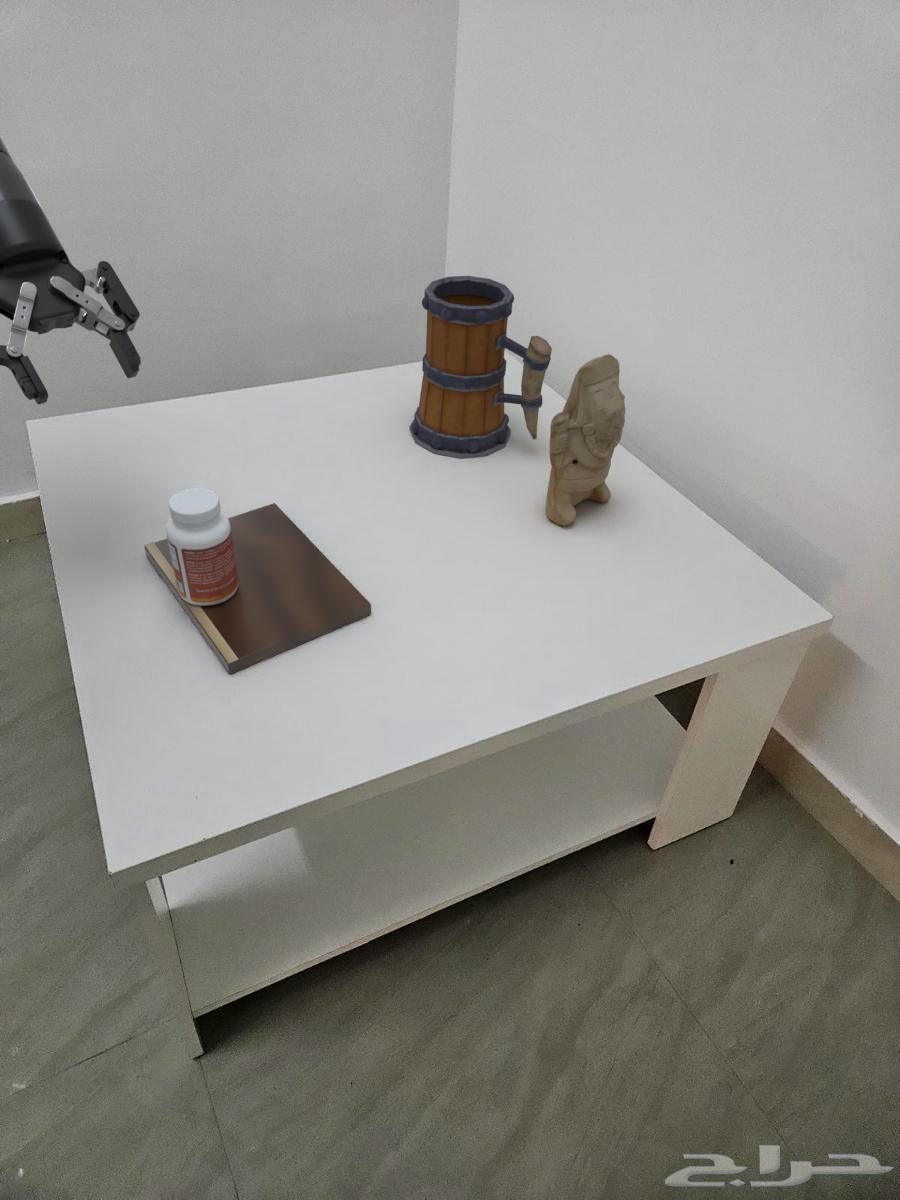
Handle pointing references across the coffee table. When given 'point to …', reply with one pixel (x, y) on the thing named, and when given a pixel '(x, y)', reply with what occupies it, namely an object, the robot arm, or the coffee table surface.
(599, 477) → the figurine
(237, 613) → the board
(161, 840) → the coffee table surface
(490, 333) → the mug
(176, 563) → the pill bottle
